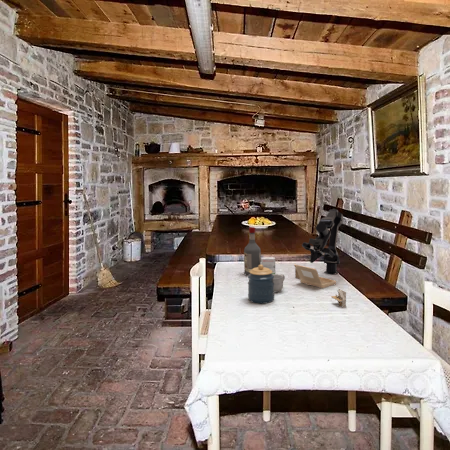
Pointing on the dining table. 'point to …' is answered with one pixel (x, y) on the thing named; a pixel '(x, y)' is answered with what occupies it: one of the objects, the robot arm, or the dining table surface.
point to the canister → (261, 285)
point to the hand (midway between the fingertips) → (311, 262)
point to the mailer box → (324, 284)
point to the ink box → (269, 263)
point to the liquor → (251, 253)
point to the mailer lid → (308, 274)
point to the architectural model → (341, 298)
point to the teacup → (278, 282)
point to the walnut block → (296, 274)
